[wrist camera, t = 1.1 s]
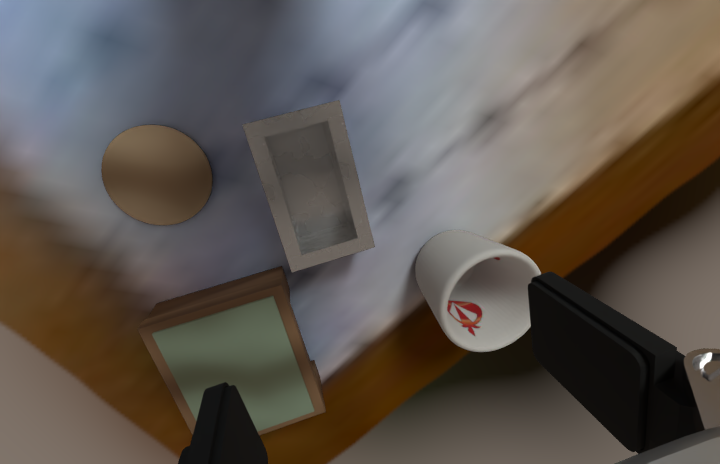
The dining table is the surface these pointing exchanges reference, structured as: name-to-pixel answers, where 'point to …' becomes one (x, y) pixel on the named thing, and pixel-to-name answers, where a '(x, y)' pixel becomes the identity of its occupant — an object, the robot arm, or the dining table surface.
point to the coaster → (157, 174)
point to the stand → (236, 350)
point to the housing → (311, 184)
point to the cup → (476, 289)
